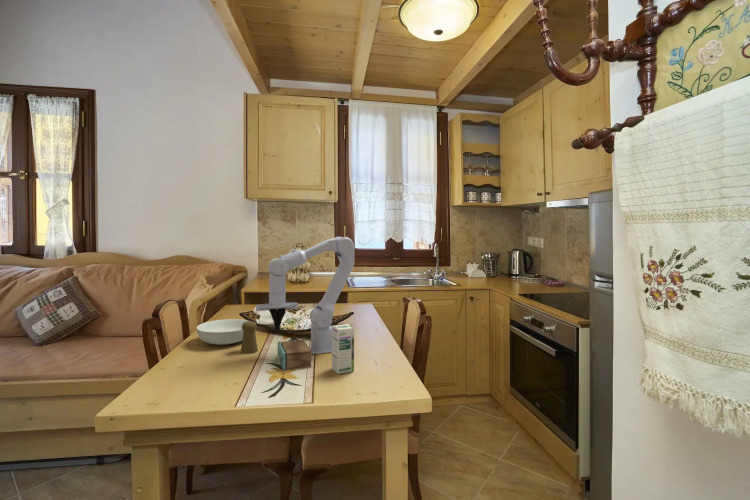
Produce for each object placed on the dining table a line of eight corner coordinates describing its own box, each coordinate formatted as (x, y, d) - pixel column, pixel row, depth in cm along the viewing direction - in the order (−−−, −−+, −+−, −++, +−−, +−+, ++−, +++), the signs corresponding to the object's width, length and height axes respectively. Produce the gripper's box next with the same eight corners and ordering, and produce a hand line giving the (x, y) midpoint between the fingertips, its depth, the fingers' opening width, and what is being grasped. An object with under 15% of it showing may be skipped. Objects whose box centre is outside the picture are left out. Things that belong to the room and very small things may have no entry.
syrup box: (337, 374, 114) (338, 329, 113) (331, 368, 119) (331, 324, 118) (354, 371, 116) (354, 327, 115) (347, 365, 121) (347, 323, 121)
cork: (252, 354, 130) (252, 324, 130) (237, 353, 131) (237, 323, 131) (260, 349, 136) (260, 320, 135) (246, 347, 137) (246, 319, 137)
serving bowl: (259, 344, 142) (259, 327, 141) (201, 354, 130) (201, 335, 130) (245, 331, 159) (245, 316, 158) (193, 339, 147) (192, 322, 147)
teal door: (280, 355, 129) (280, 341, 128) (286, 369, 116) (286, 353, 116) (274, 356, 128) (274, 341, 128) (279, 370, 115) (279, 354, 115)
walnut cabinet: (303, 354, 131) (303, 339, 131) (311, 366, 120) (311, 350, 119) (280, 356, 128) (280, 341, 128) (286, 369, 117) (286, 353, 116)
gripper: (295, 289, 135) (295, 325, 136) (255, 291, 129) (255, 328, 130) (299, 292, 129) (299, 329, 129) (256, 294, 123) (256, 333, 124)
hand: (277, 329), depth 129 cm, fingers closed
